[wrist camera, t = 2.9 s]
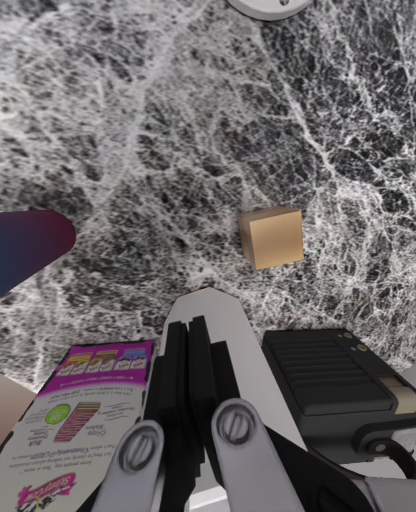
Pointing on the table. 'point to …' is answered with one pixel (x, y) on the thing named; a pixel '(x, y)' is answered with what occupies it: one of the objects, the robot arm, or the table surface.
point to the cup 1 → (31, 244)
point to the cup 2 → (246, 372)
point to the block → (271, 236)
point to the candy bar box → (74, 427)
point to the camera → (344, 399)
